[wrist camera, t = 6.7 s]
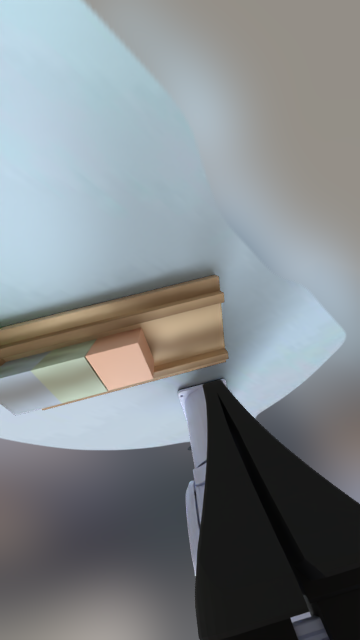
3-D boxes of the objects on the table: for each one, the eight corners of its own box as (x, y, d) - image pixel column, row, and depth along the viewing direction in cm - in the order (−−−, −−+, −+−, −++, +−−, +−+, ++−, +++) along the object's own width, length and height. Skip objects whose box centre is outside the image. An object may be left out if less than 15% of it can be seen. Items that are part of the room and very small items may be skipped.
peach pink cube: (154, 360, 18) (153, 378, 16) (115, 370, 18) (108, 390, 16) (141, 327, 16) (137, 342, 13) (97, 338, 16) (85, 356, 13)
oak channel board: (222, 356, 21) (236, 378, 18) (48, 402, 21) (24, 435, 17) (214, 274, 16) (232, 282, 12) (-23, 333, 15) (-82, 360, 11)
